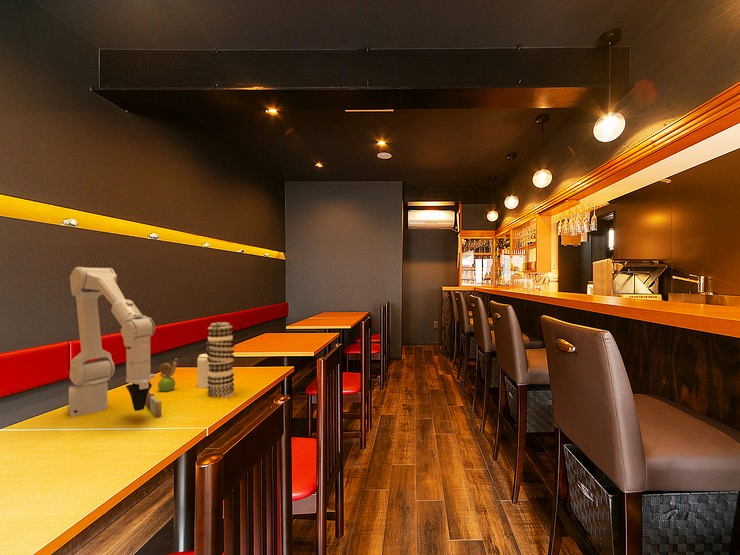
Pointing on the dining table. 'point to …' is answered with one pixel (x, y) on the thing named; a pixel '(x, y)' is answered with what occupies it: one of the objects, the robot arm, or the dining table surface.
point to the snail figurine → (167, 377)
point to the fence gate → (155, 406)
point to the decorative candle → (220, 360)
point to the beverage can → (202, 371)
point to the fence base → (148, 400)
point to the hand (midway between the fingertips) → (139, 409)
